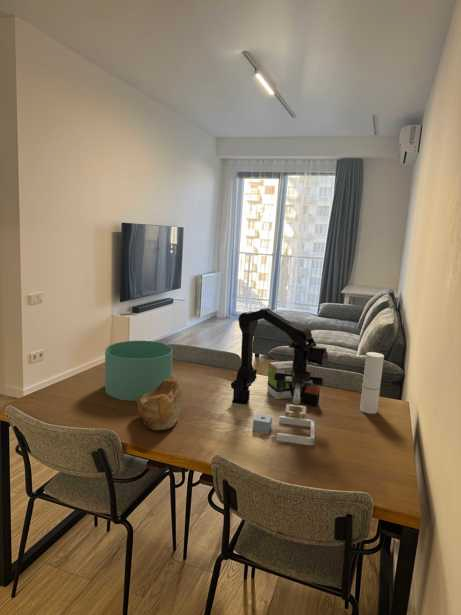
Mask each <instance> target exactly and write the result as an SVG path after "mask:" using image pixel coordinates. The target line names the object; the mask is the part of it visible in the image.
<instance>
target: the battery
mask: <svg viewBox="0 0 461 615" xmlns="http://www.w3.org/2000/svg"><path fill="white" fill-rule="evenodd" d="M320 395H321V385H314V384H313V382H311V386H308V387H307V388H306V390H305V392H304V394H303V396H302V398H300V404H302V405H304V406H310V407H312V408H313V407H314V408H316V407H317V406H318V405H319V404H320Z"/></svg>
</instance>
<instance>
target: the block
mask: <svg viewBox="0 0 461 615" xmlns="http://www.w3.org/2000/svg"><path fill="white" fill-rule="evenodd" d="M272 421H273V415H269V414H261V413H256V414H255V416H254V418H253V422H252V432H256V433H257V432H258V433H263V434H270V431H271V429H272Z"/></svg>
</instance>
